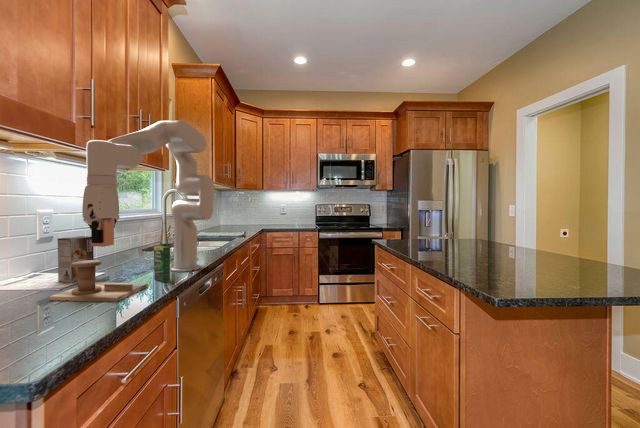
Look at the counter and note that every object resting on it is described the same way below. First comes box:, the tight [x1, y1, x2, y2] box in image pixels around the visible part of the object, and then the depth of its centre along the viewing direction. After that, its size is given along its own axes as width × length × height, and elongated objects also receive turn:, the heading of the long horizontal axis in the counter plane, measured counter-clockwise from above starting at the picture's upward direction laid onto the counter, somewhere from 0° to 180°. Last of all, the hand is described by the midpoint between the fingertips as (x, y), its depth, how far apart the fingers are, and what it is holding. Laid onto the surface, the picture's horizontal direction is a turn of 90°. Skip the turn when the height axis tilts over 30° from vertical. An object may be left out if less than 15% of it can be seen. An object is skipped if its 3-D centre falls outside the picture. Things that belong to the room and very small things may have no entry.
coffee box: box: [57, 235, 95, 283], centre depth 119 cm, size 9×6×16 cm
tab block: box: [92, 219, 115, 248], centre depth 96 cm, size 4×4×8 cm
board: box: [49, 281, 149, 303], centre depth 102 cm, size 17×20×3 cm
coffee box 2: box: [153, 245, 171, 283], centre depth 120 cm, size 8×3×13 cm, turn 51°
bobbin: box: [71, 259, 103, 295], centre depth 99 cm, size 8×8×9 cm
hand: (103, 241), depth 96 cm, fingers closed on tab block, 4 cm apart
